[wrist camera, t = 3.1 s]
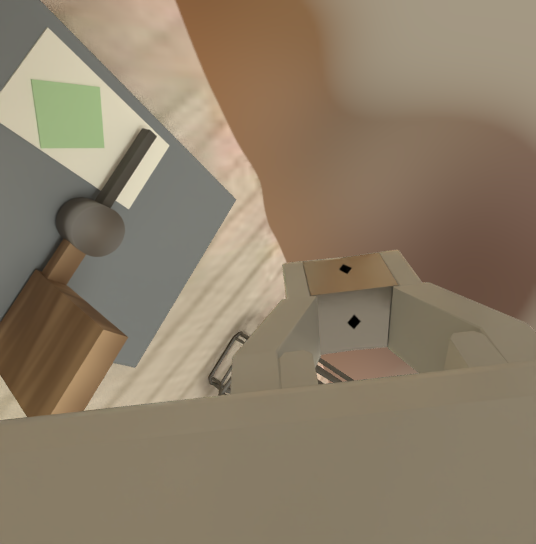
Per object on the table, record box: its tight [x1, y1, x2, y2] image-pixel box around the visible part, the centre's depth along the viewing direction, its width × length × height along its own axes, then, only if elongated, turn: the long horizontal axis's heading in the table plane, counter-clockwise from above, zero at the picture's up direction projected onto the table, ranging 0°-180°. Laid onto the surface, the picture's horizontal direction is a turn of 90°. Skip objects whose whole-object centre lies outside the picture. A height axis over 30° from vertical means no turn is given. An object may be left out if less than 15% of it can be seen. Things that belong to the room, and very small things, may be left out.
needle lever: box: [0, 128, 157, 417], centre depth 27 cm, size 4×21×11 cm, turn 132°
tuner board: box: [0, 0, 236, 367], centre depth 31 cm, size 28×22×1 cm
